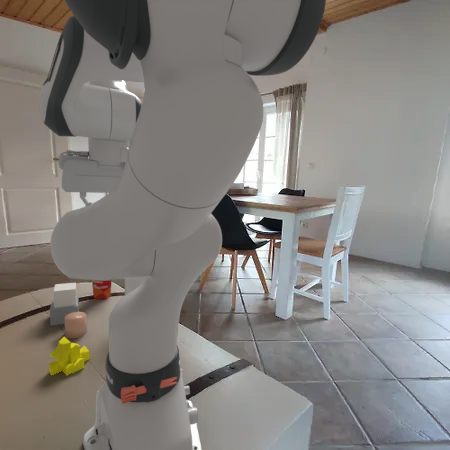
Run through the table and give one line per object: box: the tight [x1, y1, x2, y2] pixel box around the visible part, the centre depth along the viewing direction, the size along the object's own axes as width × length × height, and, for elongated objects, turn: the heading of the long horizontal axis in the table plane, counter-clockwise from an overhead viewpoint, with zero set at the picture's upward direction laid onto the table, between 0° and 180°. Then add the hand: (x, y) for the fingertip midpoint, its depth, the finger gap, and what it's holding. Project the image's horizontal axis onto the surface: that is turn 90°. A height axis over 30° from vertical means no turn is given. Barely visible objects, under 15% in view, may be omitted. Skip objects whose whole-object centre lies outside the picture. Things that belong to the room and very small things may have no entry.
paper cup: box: [91, 280, 113, 300], centre depth 99 cm, size 8×8×14 cm
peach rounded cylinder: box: [64, 311, 88, 340], centre depth 76 cm, size 5×5×5 cm
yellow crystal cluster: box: [48, 336, 90, 376], centre depth 63 cm, size 6×8×8 cm
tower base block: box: [49, 296, 80, 327], centre depth 84 cm, size 7×7×5 cm
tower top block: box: [53, 282, 77, 308], centre depth 83 cm, size 6×6×5 cm
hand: (110, 210), depth 70 cm, fingers open, 8 cm apart
